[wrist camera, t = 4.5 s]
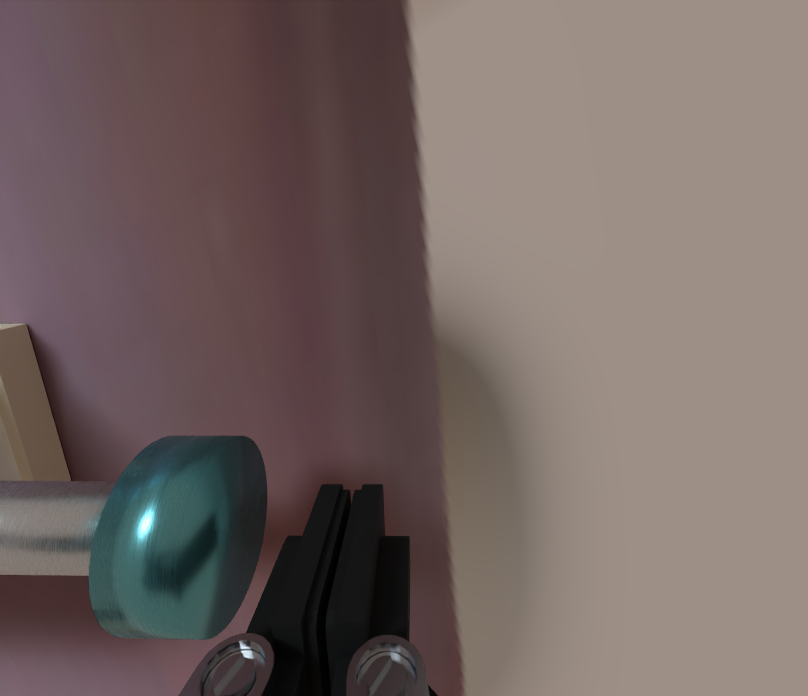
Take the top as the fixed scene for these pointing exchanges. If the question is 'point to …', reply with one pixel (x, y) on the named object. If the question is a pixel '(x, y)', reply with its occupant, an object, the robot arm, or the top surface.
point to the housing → (26, 414)
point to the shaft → (149, 535)
